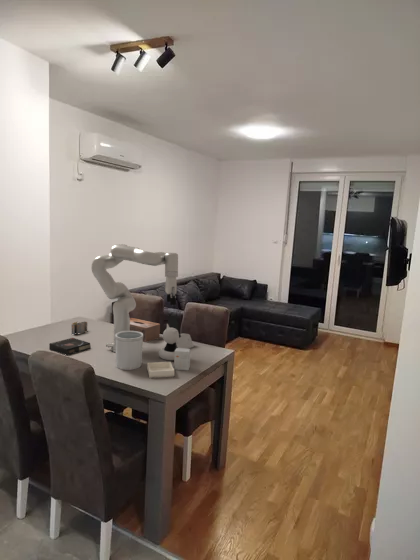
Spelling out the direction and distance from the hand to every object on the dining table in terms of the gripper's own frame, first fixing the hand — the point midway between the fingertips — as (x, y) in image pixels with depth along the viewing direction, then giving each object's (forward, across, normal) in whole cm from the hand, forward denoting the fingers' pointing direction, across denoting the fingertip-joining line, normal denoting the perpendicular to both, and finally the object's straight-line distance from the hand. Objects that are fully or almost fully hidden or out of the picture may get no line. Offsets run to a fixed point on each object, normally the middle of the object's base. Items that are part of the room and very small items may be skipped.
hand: (171, 303), depth 217 cm
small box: (+33, +21, +2) cm, 39 cm away
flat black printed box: (+31, -22, -57) cm, 69 cm away
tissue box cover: (+31, -43, -14) cm, 55 cm away
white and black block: (+32, -14, +10) cm, 37 cm away
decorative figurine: (+32, +2, 0) cm, 32 cm away
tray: (+32, +25, -11) cm, 42 cm away
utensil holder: (+32, +11, -26) cm, 42 cm away
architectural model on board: (+30, -56, -53) cm, 83 cm away
